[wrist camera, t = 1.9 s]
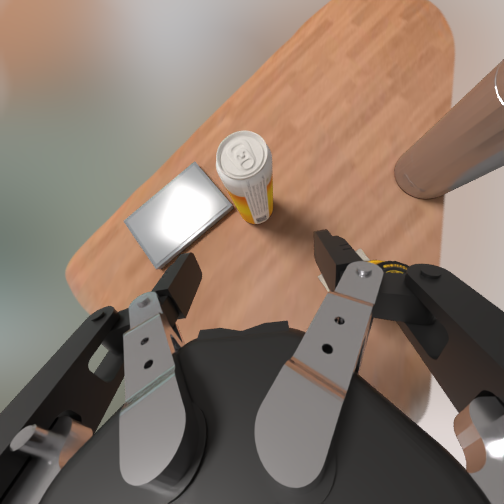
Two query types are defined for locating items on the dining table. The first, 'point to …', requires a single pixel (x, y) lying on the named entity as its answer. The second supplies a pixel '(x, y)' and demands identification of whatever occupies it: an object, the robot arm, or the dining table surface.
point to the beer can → (247, 174)
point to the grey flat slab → (177, 215)
